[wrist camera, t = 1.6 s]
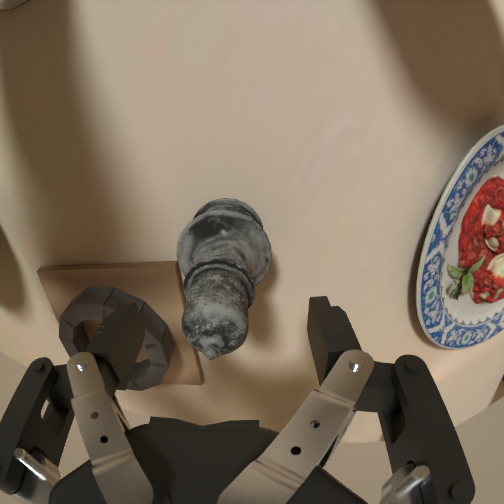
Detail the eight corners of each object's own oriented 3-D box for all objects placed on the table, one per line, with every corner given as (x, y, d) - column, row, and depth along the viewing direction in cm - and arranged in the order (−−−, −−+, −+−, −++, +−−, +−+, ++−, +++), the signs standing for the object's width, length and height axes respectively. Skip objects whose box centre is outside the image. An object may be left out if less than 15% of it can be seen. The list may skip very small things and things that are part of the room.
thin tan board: (41, 266, 22) (22, 285, 19) (176, 261, 22) (167, 284, 19) (88, 370, 28) (79, 391, 25) (202, 379, 28) (199, 403, 25)
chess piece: (241, 281, 23) (240, 414, 12) (173, 246, 21) (119, 368, 11) (283, 220, 21) (322, 338, 10) (210, 178, 19) (168, 264, 8)
